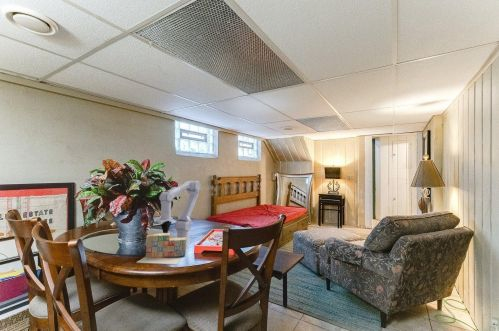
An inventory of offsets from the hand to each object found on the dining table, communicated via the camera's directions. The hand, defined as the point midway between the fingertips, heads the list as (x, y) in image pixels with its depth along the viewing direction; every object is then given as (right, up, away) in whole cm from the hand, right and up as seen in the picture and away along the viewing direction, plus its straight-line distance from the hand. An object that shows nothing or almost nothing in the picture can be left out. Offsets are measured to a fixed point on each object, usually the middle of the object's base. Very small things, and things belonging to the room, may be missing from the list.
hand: (165, 233), depth 143 cm
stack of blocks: (+4, -10, -10) cm, 14 cm away
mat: (+3, -10, -17) cm, 20 cm away
